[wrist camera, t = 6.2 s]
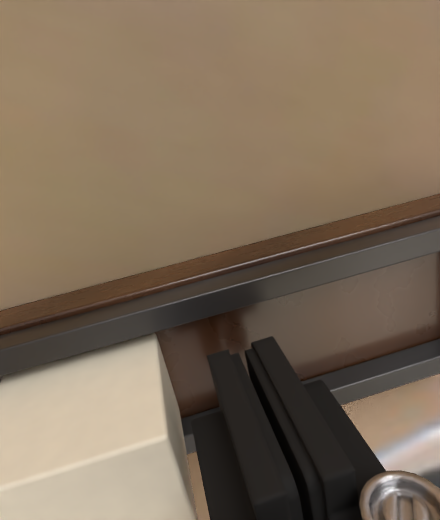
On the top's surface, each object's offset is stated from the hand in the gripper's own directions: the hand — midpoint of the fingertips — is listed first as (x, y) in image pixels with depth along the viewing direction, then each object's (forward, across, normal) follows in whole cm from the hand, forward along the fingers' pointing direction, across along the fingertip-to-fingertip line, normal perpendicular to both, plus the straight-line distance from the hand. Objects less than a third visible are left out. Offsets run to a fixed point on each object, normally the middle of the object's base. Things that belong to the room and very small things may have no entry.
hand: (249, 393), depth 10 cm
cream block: (+2, +4, 0) cm, 4 cm away
